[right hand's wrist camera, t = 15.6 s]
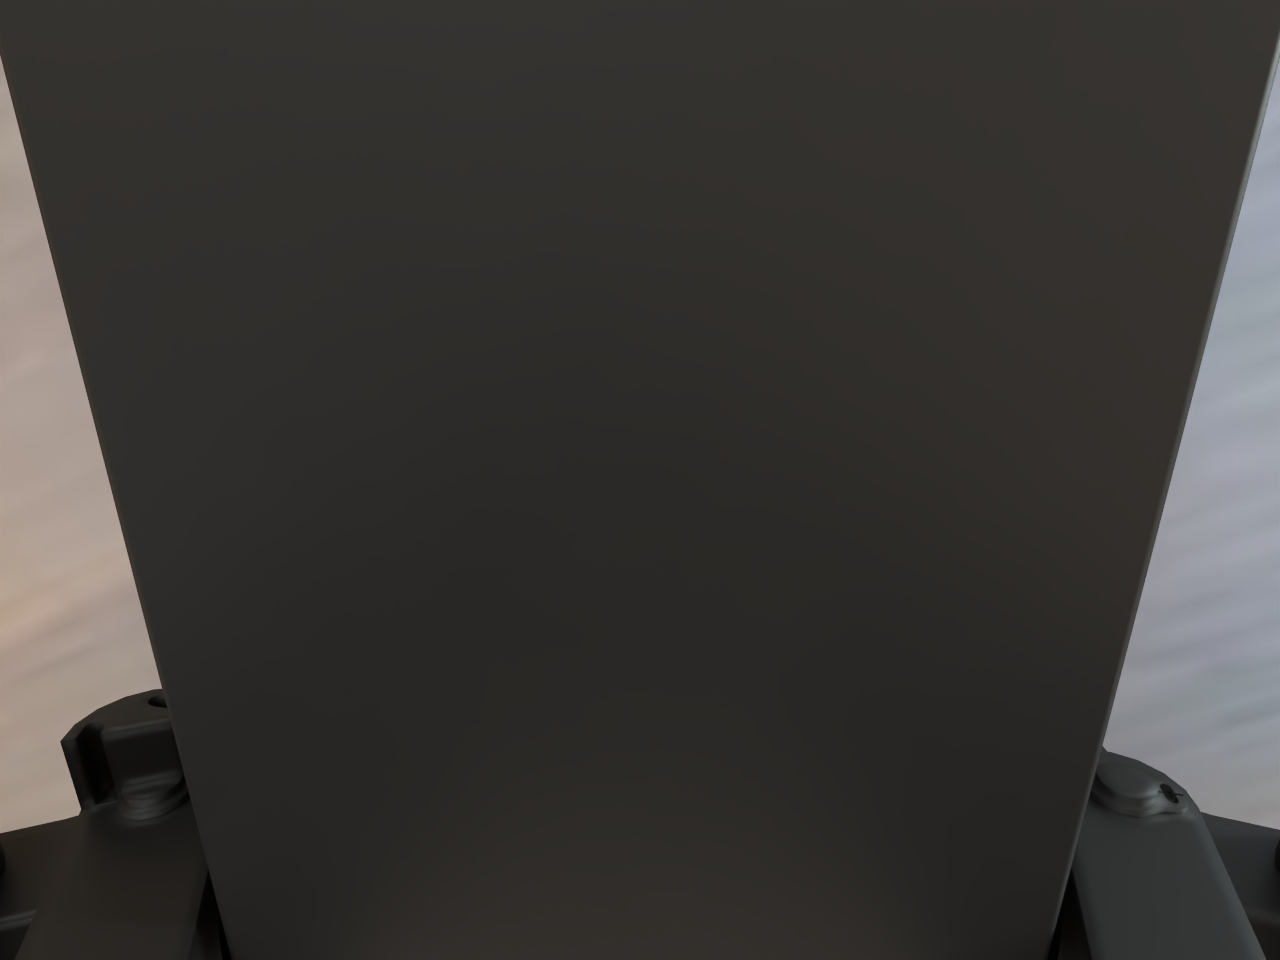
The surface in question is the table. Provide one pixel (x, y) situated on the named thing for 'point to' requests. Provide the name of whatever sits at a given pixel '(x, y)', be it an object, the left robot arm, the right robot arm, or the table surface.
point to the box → (639, 443)
